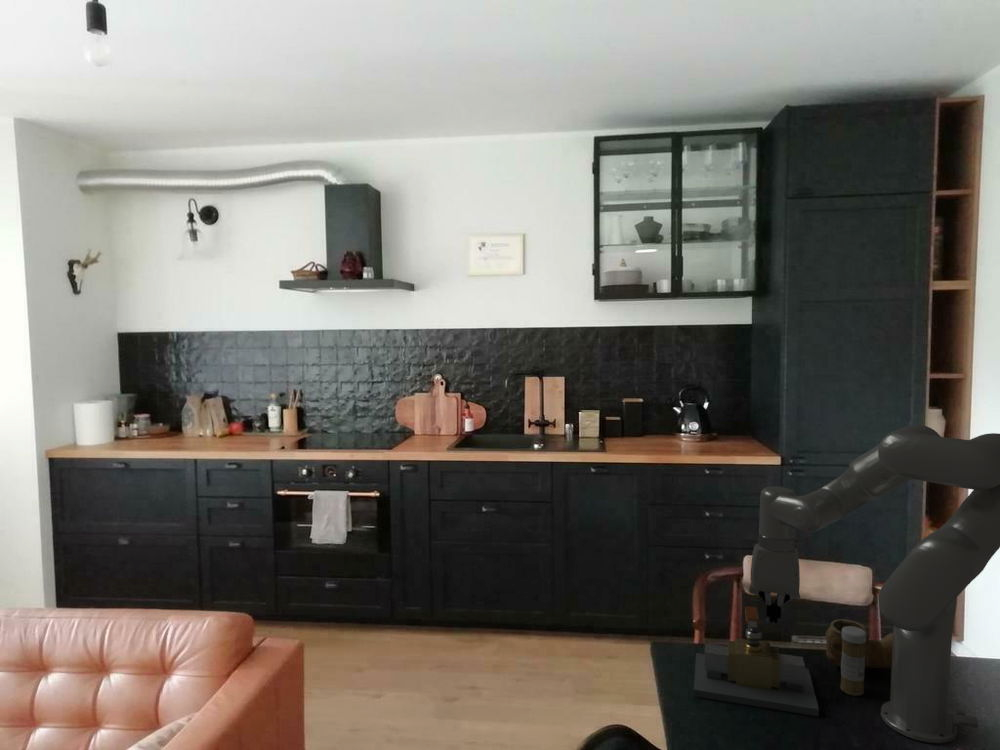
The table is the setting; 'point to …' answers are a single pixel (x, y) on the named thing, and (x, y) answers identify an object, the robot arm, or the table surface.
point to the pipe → (875, 650)
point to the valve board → (755, 692)
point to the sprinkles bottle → (853, 660)
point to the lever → (752, 623)
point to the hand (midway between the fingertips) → (773, 620)
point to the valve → (754, 665)
